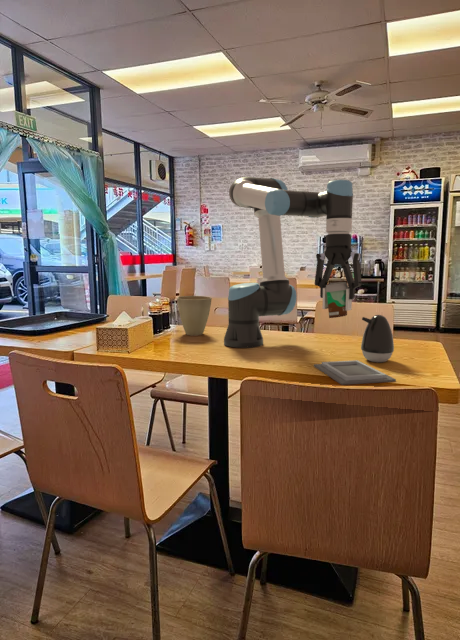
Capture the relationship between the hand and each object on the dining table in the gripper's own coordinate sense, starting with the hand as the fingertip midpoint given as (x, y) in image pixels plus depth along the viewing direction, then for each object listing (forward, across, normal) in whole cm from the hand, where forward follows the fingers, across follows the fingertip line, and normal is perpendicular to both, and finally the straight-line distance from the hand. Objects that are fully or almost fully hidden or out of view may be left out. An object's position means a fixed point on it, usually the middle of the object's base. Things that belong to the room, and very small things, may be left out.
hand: (336, 309), depth 137 cm
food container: (+2, +1, +1) cm, 2 cm away
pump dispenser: (+18, +8, +14) cm, 24 cm away
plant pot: (+17, -72, +14) cm, 75 cm away
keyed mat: (+18, +8, -5) cm, 20 cm away
